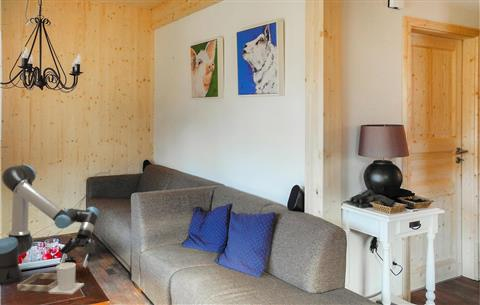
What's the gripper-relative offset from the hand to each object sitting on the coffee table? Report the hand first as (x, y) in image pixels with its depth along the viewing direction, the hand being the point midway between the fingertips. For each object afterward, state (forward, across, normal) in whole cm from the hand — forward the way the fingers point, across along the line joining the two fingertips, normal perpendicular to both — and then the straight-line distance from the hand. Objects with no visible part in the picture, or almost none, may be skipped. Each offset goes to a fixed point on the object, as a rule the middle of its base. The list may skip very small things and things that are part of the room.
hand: (72, 265), depth 227 cm
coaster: (+11, +1, -4) cm, 12 cm away
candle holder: (+11, +1, -4) cm, 11 cm away
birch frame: (+8, +17, -8) cm, 21 cm away
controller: (-5, +13, -21) cm, 26 cm away
